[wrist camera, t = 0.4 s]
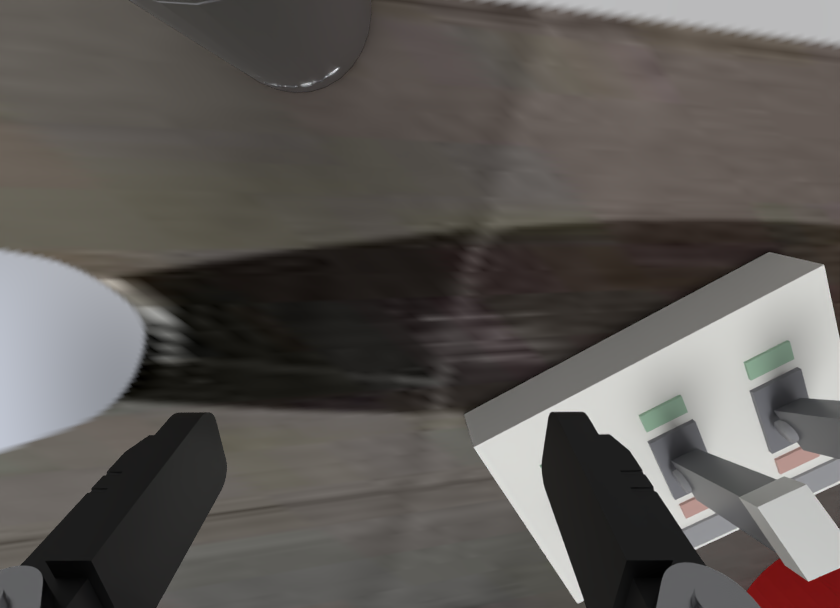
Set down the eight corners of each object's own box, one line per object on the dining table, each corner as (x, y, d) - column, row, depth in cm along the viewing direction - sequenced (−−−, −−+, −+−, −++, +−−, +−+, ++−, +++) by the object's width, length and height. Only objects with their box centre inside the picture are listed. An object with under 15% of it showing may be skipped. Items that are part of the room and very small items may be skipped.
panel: (463, 414, 33) (474, 450, 28) (769, 252, 30) (828, 265, 26) (559, 561, 39) (579, 607, 35) (817, 438, 36) (871, 473, 32)
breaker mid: (661, 457, 31) (755, 507, 19) (693, 442, 30) (808, 483, 19) (689, 501, 30) (806, 582, 18) (722, 485, 29) (862, 557, 18)
